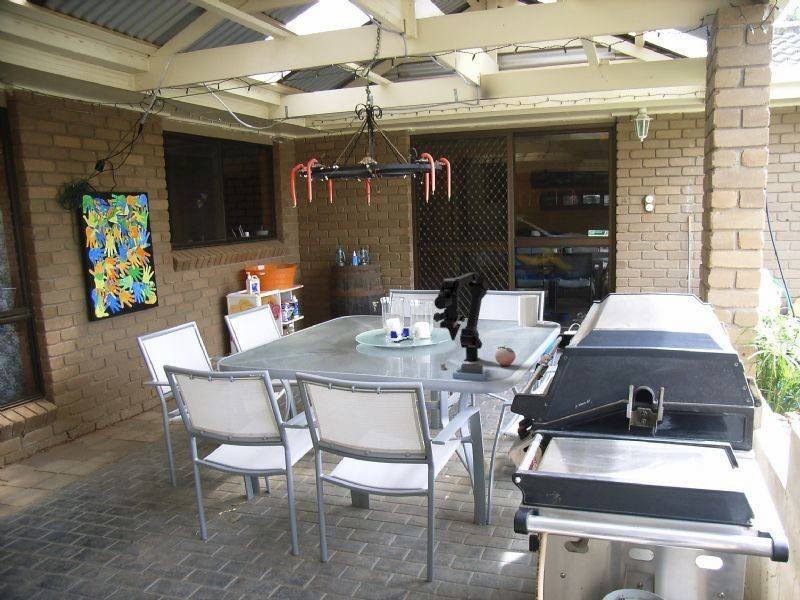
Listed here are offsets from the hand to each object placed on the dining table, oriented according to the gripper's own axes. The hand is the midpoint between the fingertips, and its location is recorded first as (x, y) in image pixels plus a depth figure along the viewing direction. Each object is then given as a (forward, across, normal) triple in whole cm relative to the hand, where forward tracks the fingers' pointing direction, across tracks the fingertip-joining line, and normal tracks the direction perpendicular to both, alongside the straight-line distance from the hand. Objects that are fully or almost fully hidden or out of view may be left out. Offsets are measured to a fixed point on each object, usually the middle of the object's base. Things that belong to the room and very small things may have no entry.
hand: (453, 340), depth 283 cm
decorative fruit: (+13, -7, +22) cm, 27 cm away
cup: (+13, -109, +13) cm, 111 cm away
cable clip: (+13, -56, -50) cm, 76 cm away
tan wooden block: (+13, +3, +2) cm, 13 cm away
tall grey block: (+13, +11, +12) cm, 21 cm away
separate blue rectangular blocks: (+13, +11, +12) cm, 21 cm away
